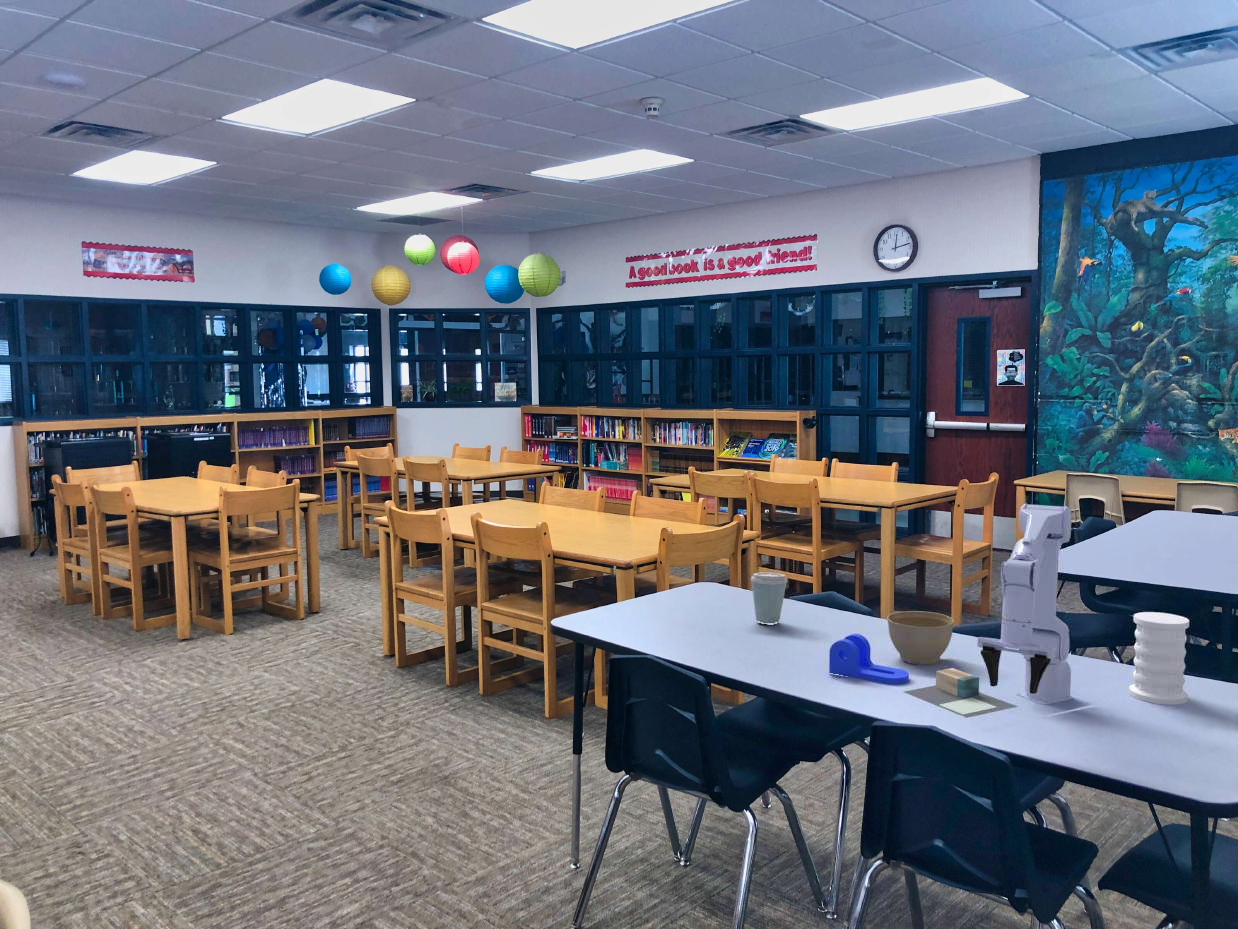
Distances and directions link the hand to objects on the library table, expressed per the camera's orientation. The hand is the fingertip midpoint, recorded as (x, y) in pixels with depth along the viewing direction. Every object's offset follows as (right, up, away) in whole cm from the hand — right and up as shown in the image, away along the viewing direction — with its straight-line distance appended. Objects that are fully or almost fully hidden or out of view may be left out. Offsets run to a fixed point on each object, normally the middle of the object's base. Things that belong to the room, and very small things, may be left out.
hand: (1013, 689), depth 190 cm
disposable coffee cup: (-34, -3, +94) cm, 100 cm away
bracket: (-17, -7, +42) cm, 46 cm away
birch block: (-1, -7, +30) cm, 30 cm away
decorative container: (+43, -8, +26) cm, 51 cm away
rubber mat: (-2, -8, +24) cm, 26 cm away
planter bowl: (-1, -6, +55) cm, 56 cm away
